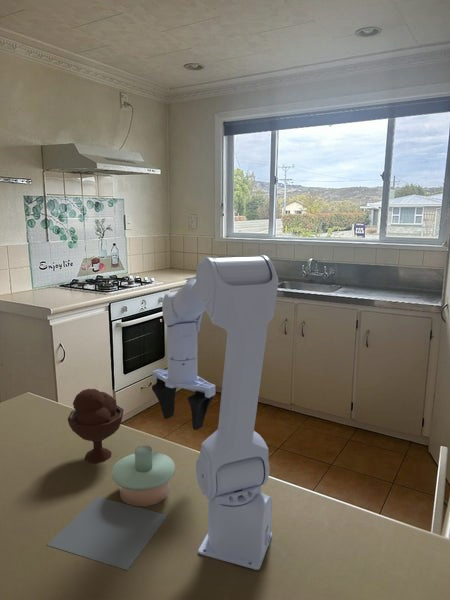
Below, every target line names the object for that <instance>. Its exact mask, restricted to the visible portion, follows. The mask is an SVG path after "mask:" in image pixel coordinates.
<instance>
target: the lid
mask: <svg viewBox="0 0 450 600" xmlns="http://www.w3.org/2000/svg"><path fill="white" fill-rule="evenodd" d="M175 467H176V466H175V462H174V460H173V459H172V458H171V457H170V456H168V455H166V454H163V453H160V452H156V451H153V449H152V447H151V446H150V445H139V446H137V447H136V448H135V449H134V453H131V454H129V455H126V456H124V457H122V458H120V459H119V460H118V461H117V462H115V464H114V466H113V467H112V473H111V475H112V480H113V482H114V483H115V484H116V485H118V486H119V487H120V486H121V487H123V488H126V489H130V490H148V489H153V488H156V487H159V486H161V485H163V484H165V483H166V482H168V481H169V480H170V481H171V479H173V477H174V475H175V472H176V471H175V470H176V468H175Z"/></svg>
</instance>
